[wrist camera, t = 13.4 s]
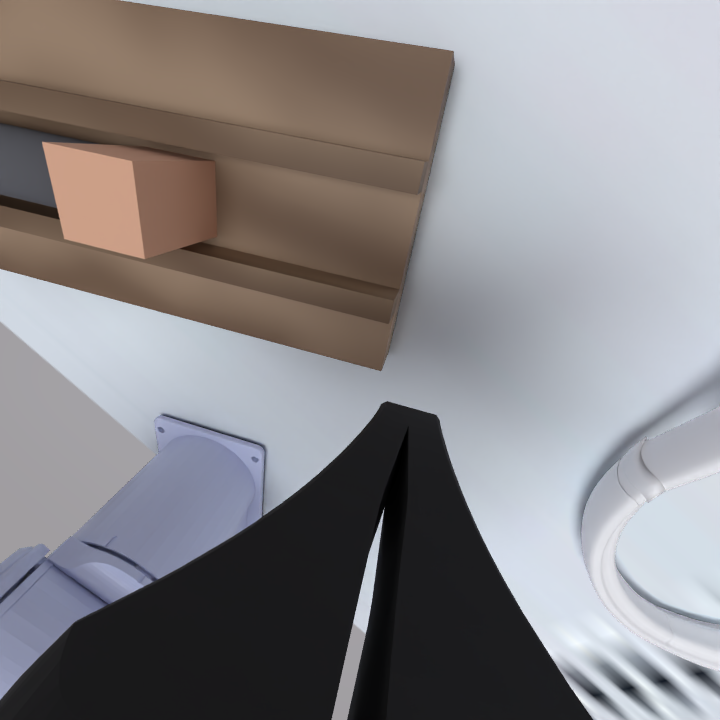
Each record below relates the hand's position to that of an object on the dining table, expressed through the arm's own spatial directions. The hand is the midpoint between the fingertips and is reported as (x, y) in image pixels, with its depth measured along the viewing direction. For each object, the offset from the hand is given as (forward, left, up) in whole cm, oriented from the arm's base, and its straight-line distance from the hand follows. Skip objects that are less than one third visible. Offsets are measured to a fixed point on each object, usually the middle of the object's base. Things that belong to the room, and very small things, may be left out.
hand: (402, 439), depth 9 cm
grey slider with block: (+3, +18, -8) cm, 20 cm away
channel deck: (+3, +14, -10) cm, 17 cm away
